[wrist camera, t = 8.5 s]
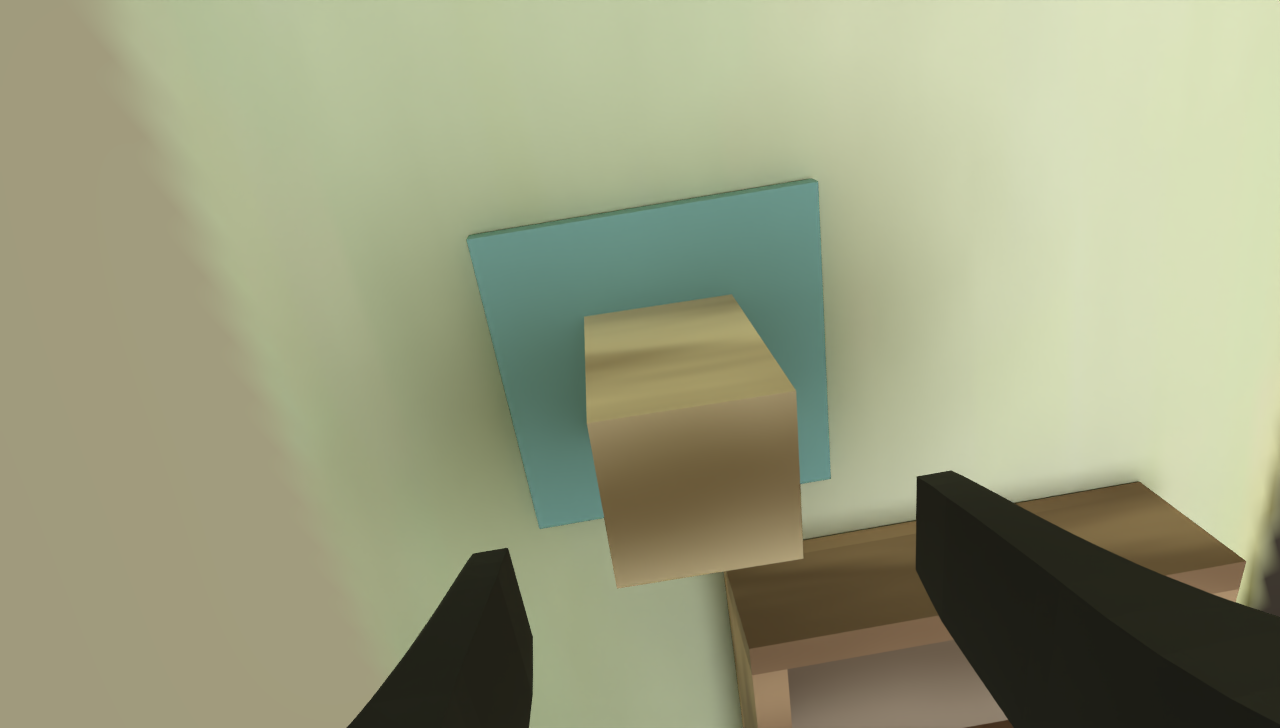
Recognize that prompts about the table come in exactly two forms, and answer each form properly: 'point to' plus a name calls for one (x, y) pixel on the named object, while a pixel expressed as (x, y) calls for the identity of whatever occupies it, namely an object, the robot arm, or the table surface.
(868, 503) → the table surface
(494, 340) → the teal mat
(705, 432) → the maple block
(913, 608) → the walnut crate
